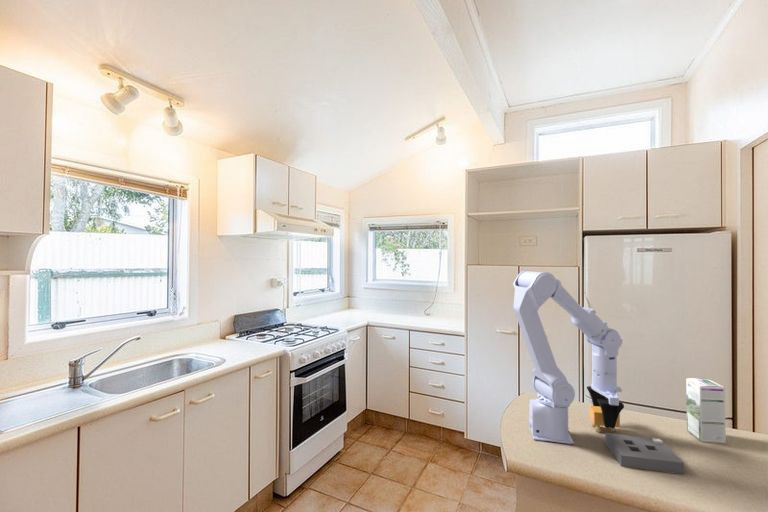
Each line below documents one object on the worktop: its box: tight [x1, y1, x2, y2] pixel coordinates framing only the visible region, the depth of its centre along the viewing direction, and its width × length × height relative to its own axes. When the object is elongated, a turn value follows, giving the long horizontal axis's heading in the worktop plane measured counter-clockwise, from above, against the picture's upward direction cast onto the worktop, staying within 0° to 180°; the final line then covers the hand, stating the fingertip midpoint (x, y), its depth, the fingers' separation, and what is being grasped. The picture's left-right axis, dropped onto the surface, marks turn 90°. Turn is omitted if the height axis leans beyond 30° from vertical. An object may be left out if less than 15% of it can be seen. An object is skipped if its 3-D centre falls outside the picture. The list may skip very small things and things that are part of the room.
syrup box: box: [685, 377, 727, 444], centre depth 91 cm, size 6×6×14 cm
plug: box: [589, 405, 621, 434], centre depth 95 cm, size 6×4×6 cm, turn 75°
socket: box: [604, 432, 685, 475], centre depth 82 cm, size 12×10×3 cm
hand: (604, 420), depth 95 cm, fingers open, 7 cm apart
